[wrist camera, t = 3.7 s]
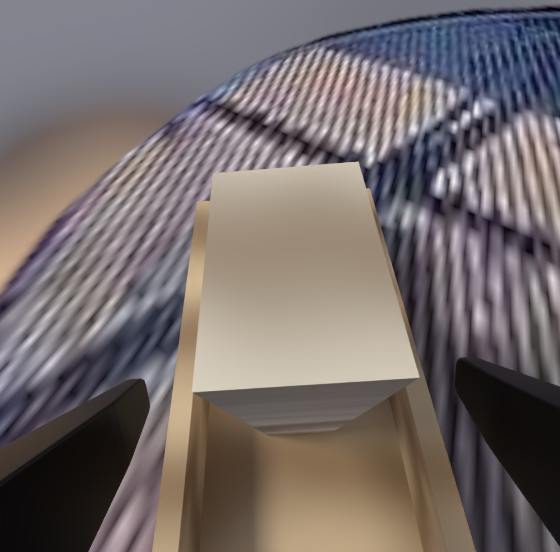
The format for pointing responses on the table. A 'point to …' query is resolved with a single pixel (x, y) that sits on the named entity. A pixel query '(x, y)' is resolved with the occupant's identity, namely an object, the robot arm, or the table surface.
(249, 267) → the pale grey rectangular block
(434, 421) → the tray
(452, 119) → the table surface
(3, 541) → the robot arm
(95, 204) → the table surface
